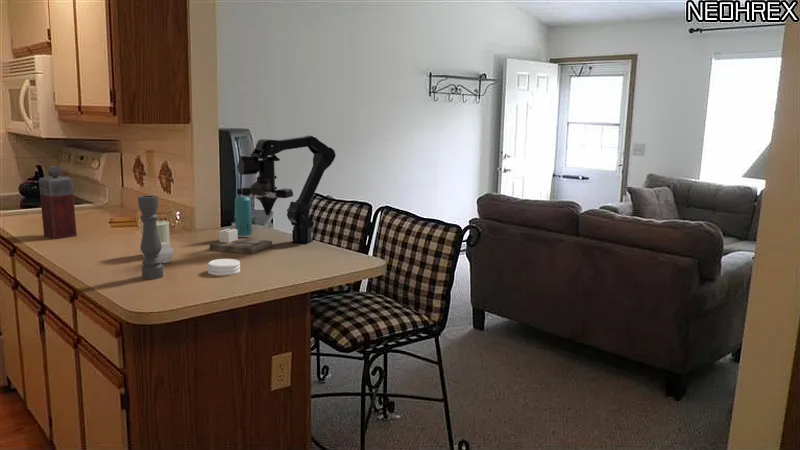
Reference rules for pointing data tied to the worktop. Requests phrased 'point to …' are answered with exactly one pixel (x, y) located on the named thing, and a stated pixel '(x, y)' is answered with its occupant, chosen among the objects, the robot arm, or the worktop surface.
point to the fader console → (242, 246)
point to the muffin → (166, 252)
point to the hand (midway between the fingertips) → (267, 215)
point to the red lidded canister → (57, 205)
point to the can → (162, 231)
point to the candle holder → (150, 238)
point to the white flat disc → (223, 267)
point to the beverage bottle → (243, 214)
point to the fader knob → (228, 235)
